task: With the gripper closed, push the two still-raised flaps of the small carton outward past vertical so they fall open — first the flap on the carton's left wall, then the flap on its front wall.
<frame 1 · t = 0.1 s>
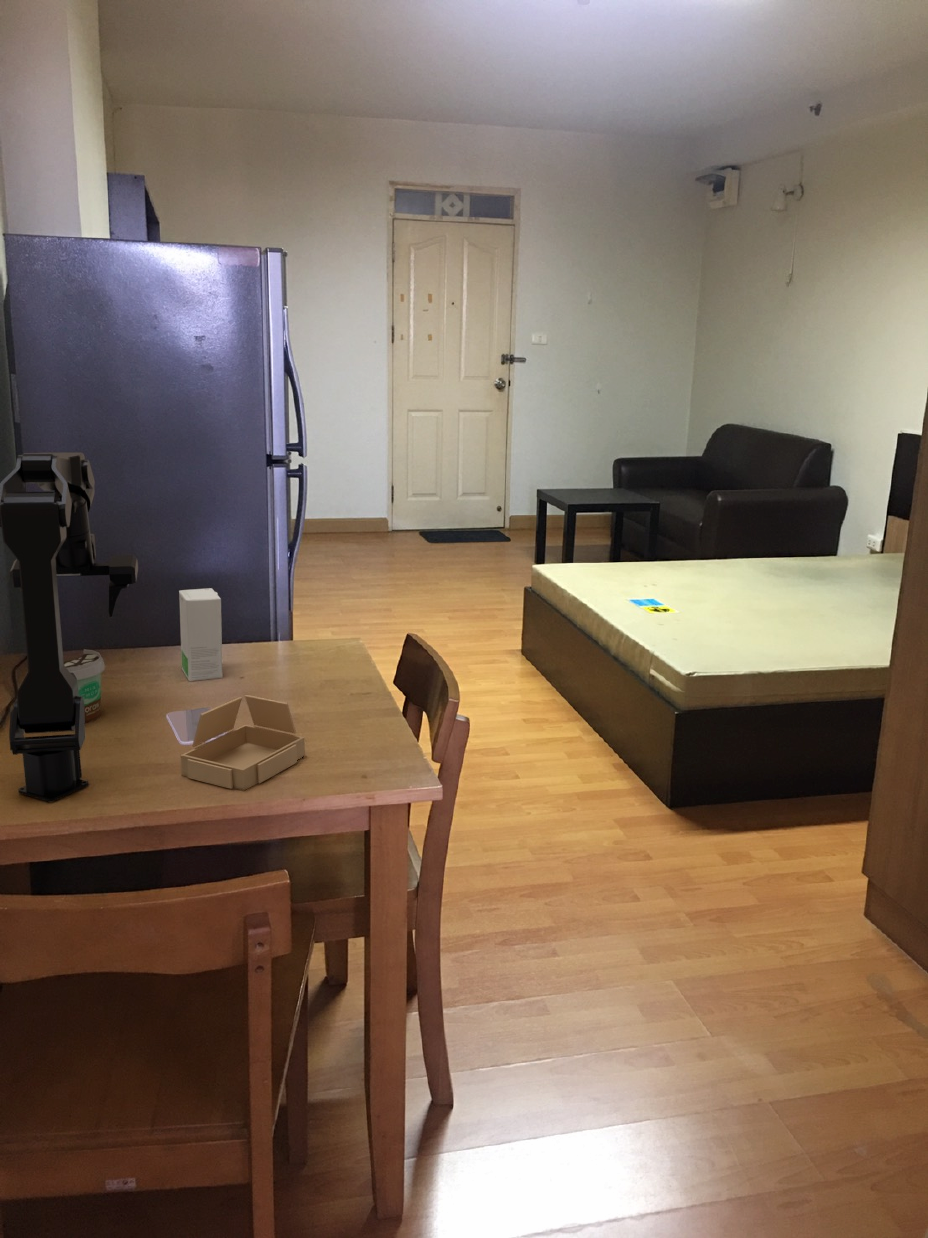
hand: (81, 617, 160), 15 cm above the table, tool pointing down, fingers open, 9 cm apart
food container: (85, 719, 158), on the table
mobile phone: (196, 729, 155), on the table
carton: (244, 765, 140), on the table
skincare box: (203, 675, 182), on the table
front flap: (270, 714, 144), point 6 cm above the table, hinge at 20.0°
left flap: (217, 721, 140), point 6 cm above the table, hinge at 20.0°
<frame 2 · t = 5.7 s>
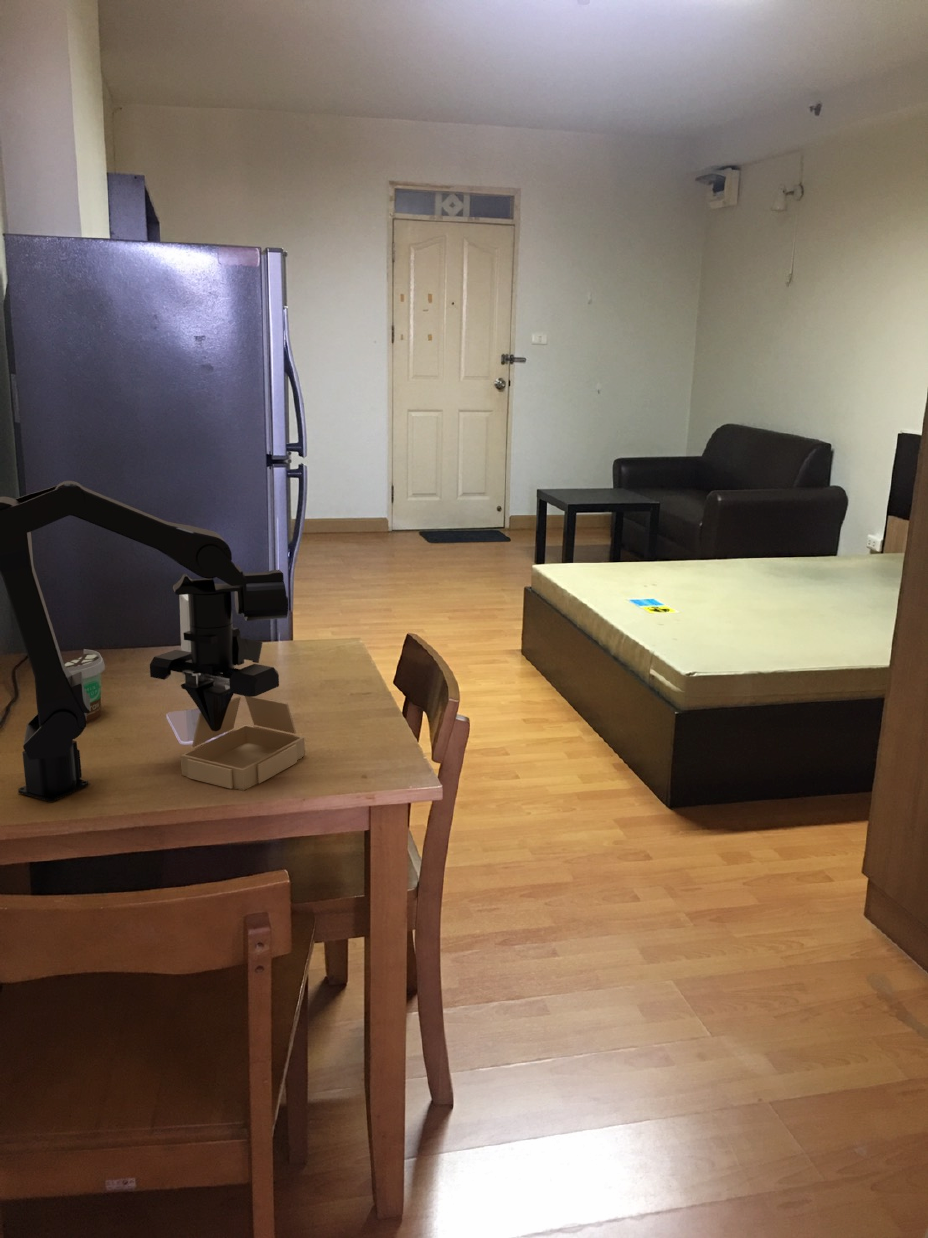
hand: (216, 730, 137), 6 cm above the table, tool pointing down, fingers closed
left flap: (216, 721, 141), point 6 cm above the table, hinge at 17.5°, touching gripper
everything else where it was.
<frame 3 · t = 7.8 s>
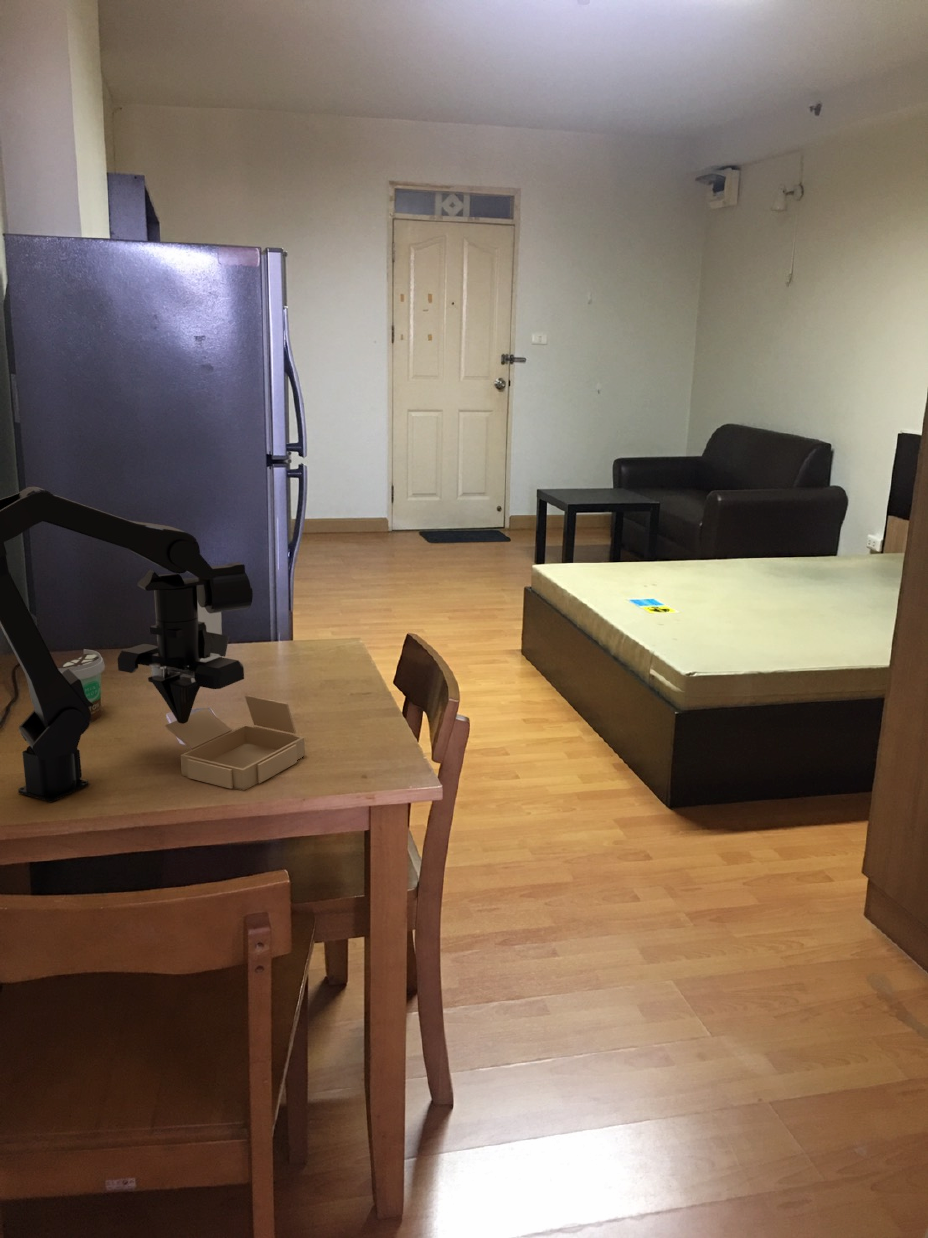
hand: (183, 722, 139), 6 cm above the table, tool pointing down, fingers closed
left flap: (199, 728, 142), point 4 cm above the table, hinge at -61.6°
everything else where it was.
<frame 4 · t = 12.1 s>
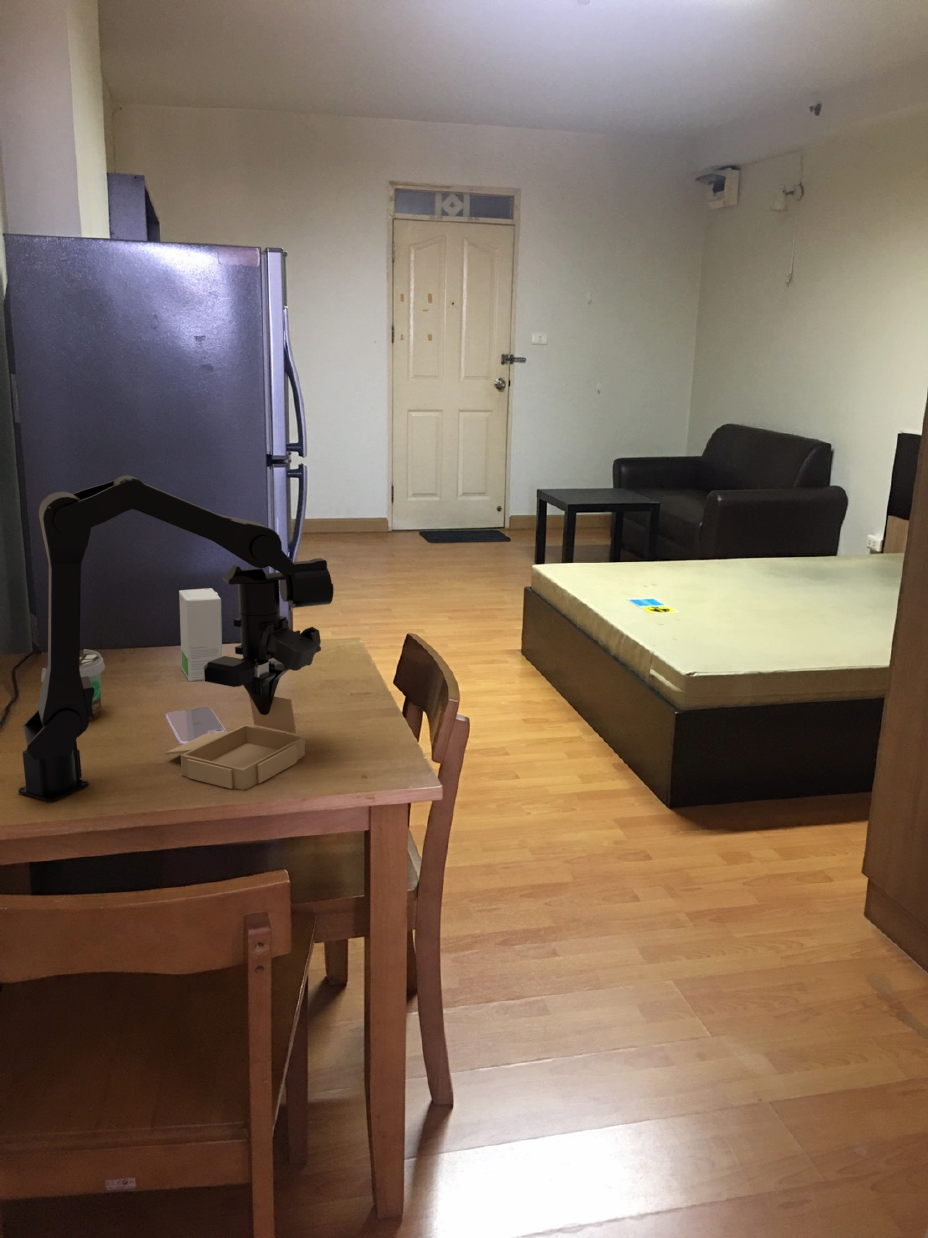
hand: (264, 714, 142), 6 cm above the table, tool pointing down, fingers closed
front flap: (272, 712, 144), point 6 cm above the table, hinge at 9.9°, touching gripper
left flap: (199, 742, 143), point 2 cm above the table, hinge at -105.4°
everything else where it was.
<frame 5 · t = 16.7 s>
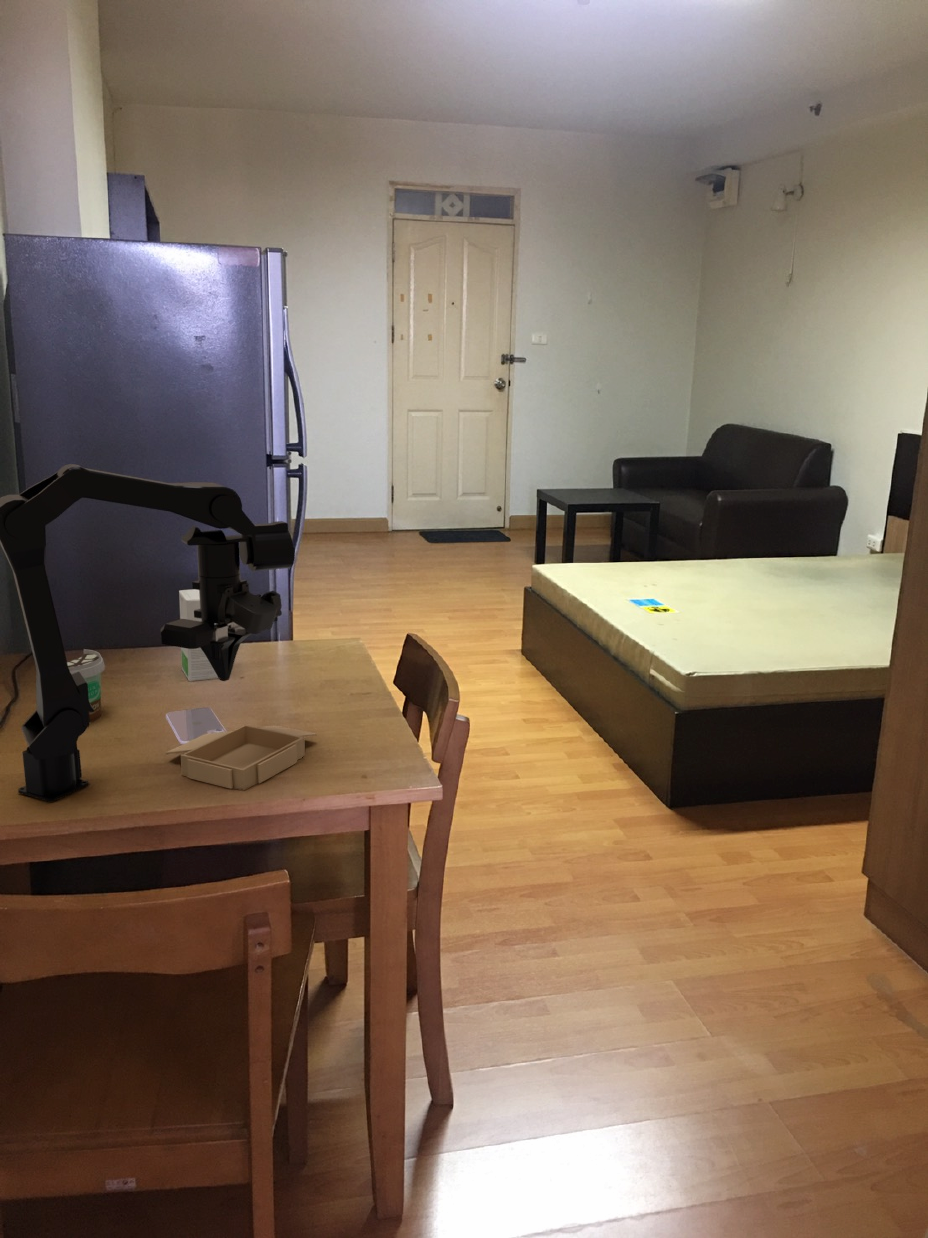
hand: (224, 680, 140), 12 cm above the table, tool pointing down, fingers closed
front flap: (285, 731, 148), point 2 cm above the table, hinge at -105.4°
everything else where it was.
at the end: left flap at -105° (first picture: +20°); front flap at -105° (first picture: +20°) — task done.
